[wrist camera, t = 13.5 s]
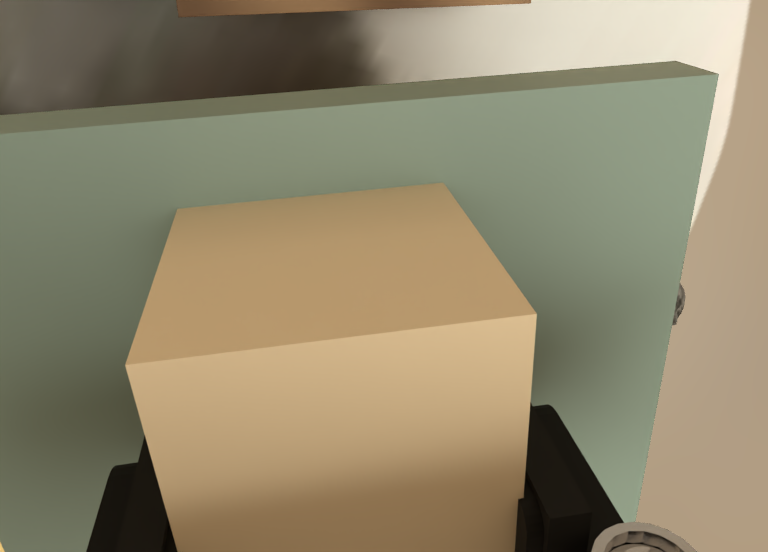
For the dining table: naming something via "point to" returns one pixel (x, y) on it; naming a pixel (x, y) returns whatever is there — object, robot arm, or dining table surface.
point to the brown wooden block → (313, 5)
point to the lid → (340, 303)
